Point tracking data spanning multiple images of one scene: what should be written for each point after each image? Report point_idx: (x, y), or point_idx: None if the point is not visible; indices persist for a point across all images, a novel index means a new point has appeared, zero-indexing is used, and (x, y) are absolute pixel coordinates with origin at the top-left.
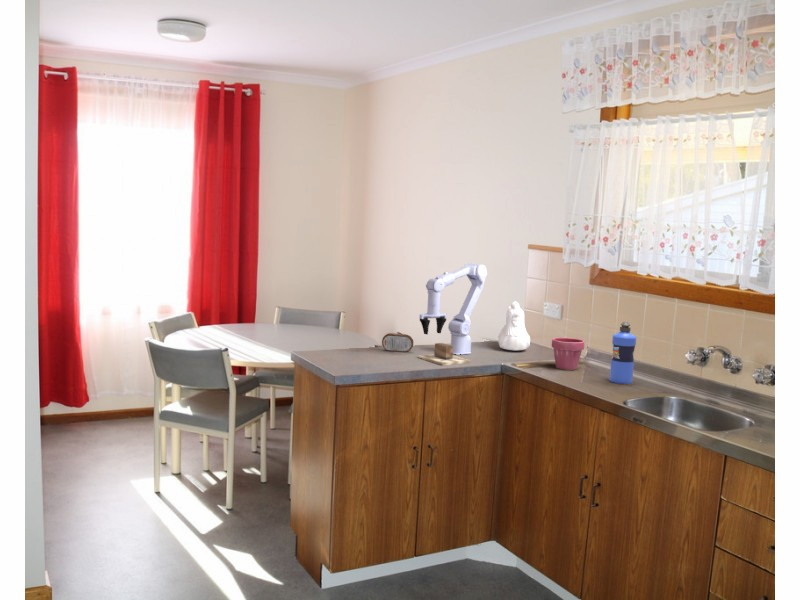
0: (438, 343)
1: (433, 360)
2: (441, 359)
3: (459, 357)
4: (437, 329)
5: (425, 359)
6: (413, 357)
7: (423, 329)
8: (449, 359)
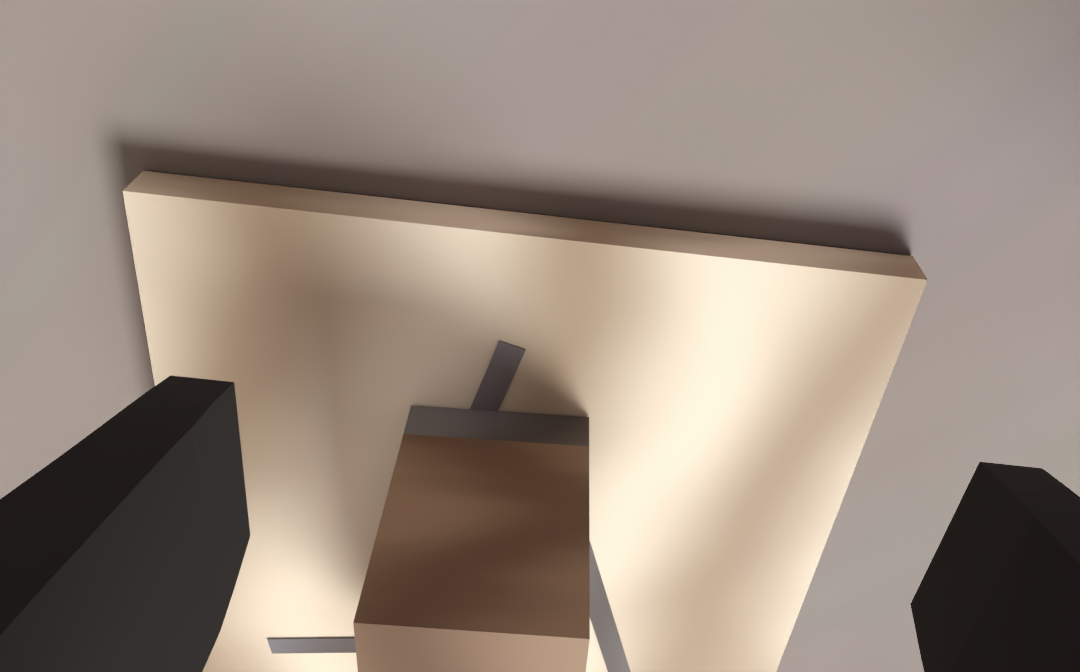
0: (448, 652)
1: None
2: None
3: (775, 629)
4: (1046, 617)
5: None
6: (58, 84)
7: (20, 516)
8: None
